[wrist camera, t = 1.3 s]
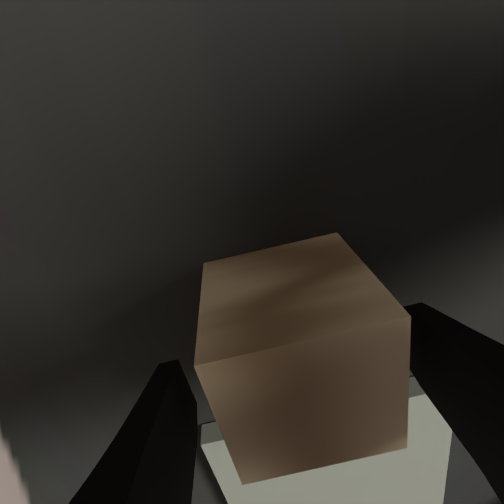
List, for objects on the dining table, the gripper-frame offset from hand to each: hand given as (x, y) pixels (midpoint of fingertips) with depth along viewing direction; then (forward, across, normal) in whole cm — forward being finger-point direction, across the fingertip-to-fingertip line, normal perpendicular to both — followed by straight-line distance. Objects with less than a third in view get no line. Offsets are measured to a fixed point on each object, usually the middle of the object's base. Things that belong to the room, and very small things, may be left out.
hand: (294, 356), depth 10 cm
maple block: (+3, 0, 0) cm, 3 cm away
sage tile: (+3, -1, +12) cm, 12 cm away
